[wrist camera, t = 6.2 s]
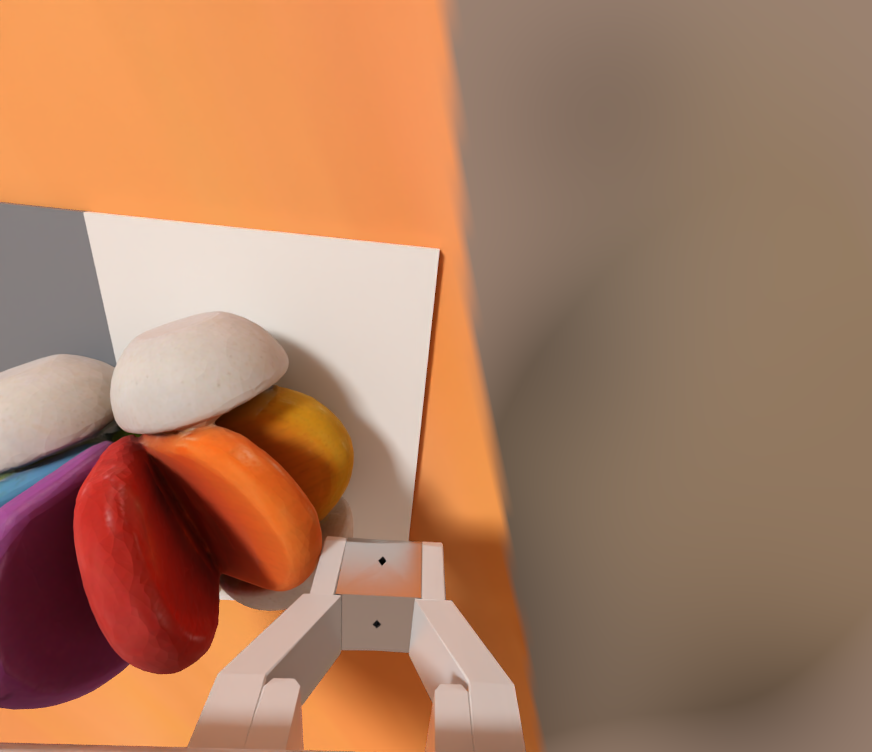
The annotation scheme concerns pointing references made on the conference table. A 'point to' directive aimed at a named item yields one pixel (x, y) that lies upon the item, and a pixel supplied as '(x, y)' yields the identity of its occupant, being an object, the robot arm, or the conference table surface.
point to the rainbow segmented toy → (155, 502)
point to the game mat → (247, 297)
